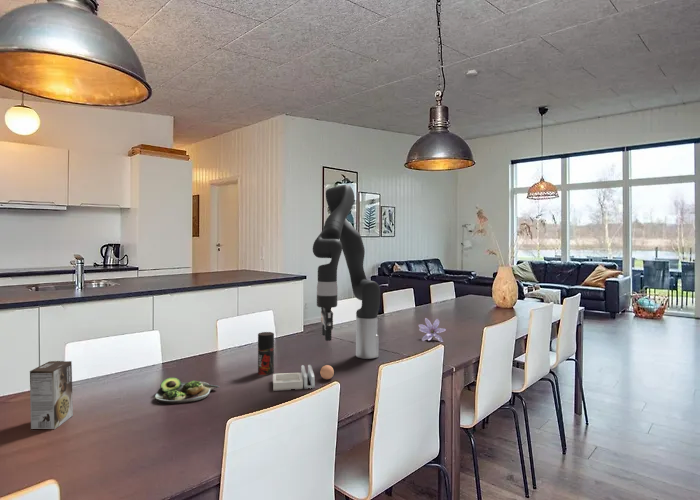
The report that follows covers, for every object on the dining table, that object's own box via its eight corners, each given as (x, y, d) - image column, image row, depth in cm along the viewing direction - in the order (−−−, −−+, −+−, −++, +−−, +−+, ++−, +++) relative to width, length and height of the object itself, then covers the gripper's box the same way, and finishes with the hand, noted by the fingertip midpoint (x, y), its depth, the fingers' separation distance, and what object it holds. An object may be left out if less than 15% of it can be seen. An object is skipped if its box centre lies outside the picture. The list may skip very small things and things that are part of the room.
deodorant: (276, 371, 167) (276, 332, 167) (268, 376, 162) (268, 336, 161) (263, 369, 169) (263, 331, 169) (255, 374, 163) (255, 334, 163)
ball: (332, 376, 162) (332, 363, 161) (334, 380, 157) (334, 367, 156) (319, 377, 161) (319, 363, 160) (321, 381, 156) (321, 367, 156)
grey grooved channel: (310, 375, 162) (310, 364, 162) (314, 388, 149) (314, 376, 149) (301, 375, 162) (301, 365, 162) (304, 388, 148) (304, 377, 148)
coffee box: (50, 416, 124) (49, 360, 124) (73, 415, 125) (72, 360, 124) (29, 430, 115) (28, 370, 115) (54, 429, 116) (54, 370, 115)
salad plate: (220, 383, 154) (220, 370, 154) (216, 402, 137) (216, 387, 137) (162, 387, 150) (162, 374, 150) (150, 407, 132) (150, 392, 132)
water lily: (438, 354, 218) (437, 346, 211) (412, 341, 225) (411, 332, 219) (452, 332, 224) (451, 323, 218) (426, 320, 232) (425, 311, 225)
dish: (300, 379, 158) (300, 372, 158) (302, 389, 148) (303, 381, 148) (272, 381, 156) (272, 373, 156) (273, 390, 146) (273, 383, 146)
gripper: (340, 296, 151) (339, 342, 152) (334, 291, 165) (334, 333, 166) (318, 296, 150) (318, 342, 151) (314, 291, 164) (314, 333, 165)
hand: (326, 337), depth 158 cm, fingers open, 8 cm apart
